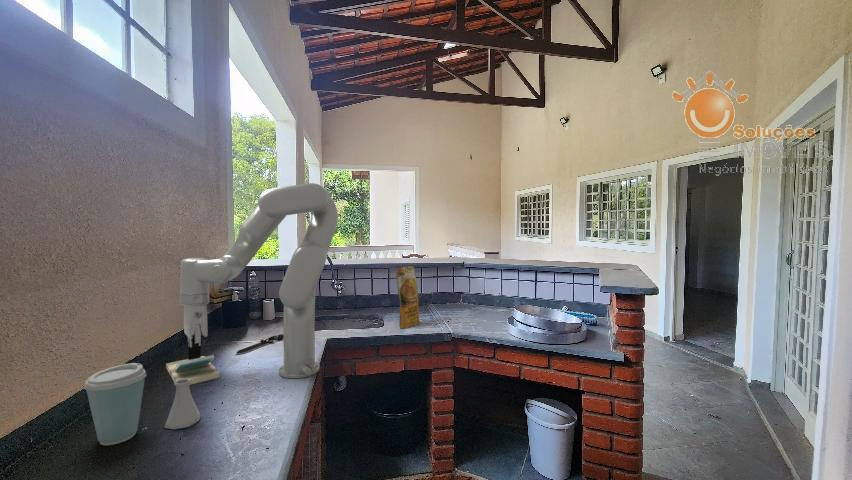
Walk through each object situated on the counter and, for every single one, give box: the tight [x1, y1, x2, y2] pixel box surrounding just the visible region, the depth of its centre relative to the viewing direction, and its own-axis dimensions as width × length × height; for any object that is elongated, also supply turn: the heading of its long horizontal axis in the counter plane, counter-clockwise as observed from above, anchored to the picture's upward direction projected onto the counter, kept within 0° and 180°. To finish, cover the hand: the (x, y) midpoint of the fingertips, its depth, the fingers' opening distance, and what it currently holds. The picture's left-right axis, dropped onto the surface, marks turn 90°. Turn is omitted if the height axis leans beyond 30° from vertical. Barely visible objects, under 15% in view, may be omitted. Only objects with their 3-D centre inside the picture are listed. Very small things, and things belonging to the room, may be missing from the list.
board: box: [165, 355, 221, 386], centre depth 119 cm, size 20×11×2 cm, turn 42°
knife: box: [234, 333, 284, 356], centre depth 147 cm, size 25×6×1 cm, turn 154°
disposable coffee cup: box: [84, 362, 147, 447], centre depth 83 cm, size 11×11×15 cm
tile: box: [175, 354, 215, 371], centre depth 116 cm, size 9×9×1 cm
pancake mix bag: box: [395, 265, 421, 329], centre depth 179 cm, size 7×19×28 cm, turn 151°
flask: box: [163, 378, 202, 430], centre depth 89 cm, size 7×7×10 cm
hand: (193, 358), depth 114 cm, fingers closed
